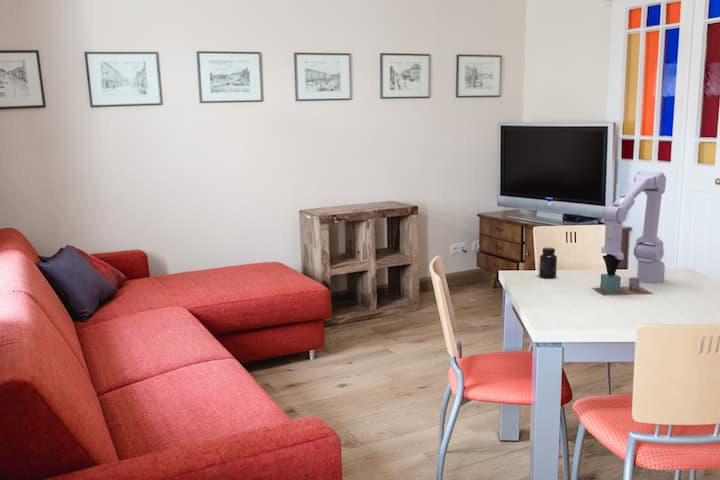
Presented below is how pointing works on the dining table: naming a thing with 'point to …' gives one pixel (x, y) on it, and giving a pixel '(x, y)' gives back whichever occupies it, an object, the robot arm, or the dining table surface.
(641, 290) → the base board
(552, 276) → the supplement bottle
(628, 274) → the dining table surface
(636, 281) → the steel post
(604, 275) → the teal foam cube
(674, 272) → the dining table surface
